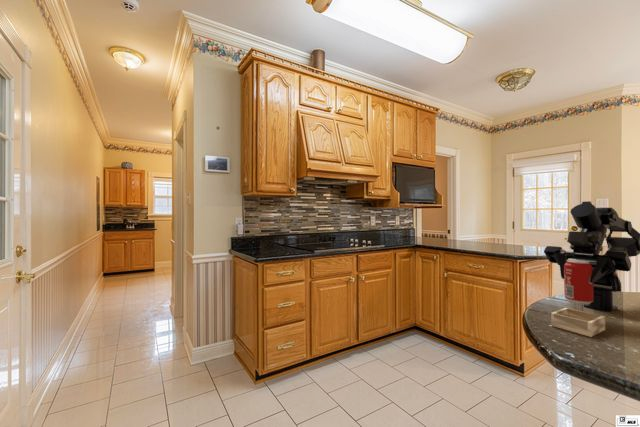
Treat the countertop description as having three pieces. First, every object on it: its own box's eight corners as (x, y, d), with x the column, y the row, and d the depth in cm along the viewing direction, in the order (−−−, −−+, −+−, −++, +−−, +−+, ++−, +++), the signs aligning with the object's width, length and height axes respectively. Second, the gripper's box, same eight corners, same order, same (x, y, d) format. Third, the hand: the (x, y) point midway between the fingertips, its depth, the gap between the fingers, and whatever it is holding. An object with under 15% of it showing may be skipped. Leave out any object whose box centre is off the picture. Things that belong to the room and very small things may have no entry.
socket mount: (566, 319, 83) (565, 307, 83) (605, 329, 76) (604, 316, 76) (551, 325, 79) (551, 313, 79) (591, 336, 72) (590, 322, 72)
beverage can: (599, 305, 81) (598, 262, 81) (573, 305, 82) (572, 262, 82) (583, 299, 87) (583, 259, 87) (559, 298, 88) (559, 259, 88)
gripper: (545, 221, 95) (529, 258, 89) (626, 222, 78) (613, 267, 73) (557, 243, 98) (542, 280, 93) (636, 248, 82) (624, 293, 77)
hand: (576, 280), depth 84 cm, fingers closed on beverage can, 6 cm apart
